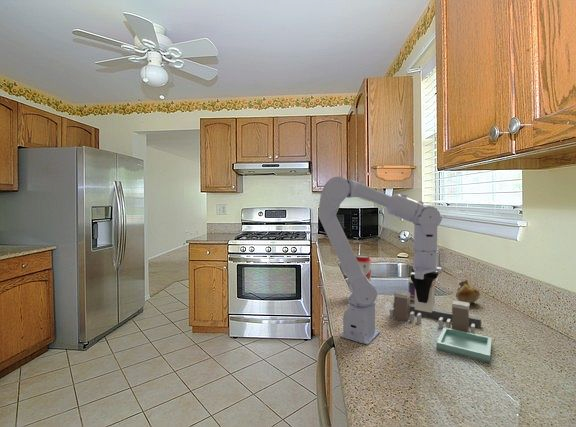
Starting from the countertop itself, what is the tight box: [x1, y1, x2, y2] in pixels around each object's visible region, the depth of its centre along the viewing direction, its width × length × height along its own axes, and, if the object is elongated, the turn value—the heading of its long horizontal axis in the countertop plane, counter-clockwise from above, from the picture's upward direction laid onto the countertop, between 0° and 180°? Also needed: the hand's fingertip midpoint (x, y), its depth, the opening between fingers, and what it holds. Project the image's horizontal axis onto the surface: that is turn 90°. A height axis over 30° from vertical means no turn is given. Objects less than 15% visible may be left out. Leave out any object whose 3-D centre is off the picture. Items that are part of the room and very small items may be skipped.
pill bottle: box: [407, 271, 415, 302], centre depth 112 cm, size 5×5×10 cm
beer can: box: [355, 254, 372, 284], centre depth 114 cm, size 6×6×16 cm
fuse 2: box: [451, 300, 471, 333], centre depth 85 cm, size 4×4×8 cm
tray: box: [435, 326, 493, 364], centre depth 76 cm, size 11×11×2 cm
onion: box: [455, 279, 481, 305], centre depth 108 cm, size 8×8×8 cm
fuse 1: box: [393, 290, 411, 323], centre depth 94 cm, size 4×4×8 cm
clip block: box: [389, 302, 482, 334], centre depth 92 cm, size 9×25×2 cm, turn 54°
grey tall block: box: [414, 279, 436, 313], centre depth 82 cm, size 4×4×8 cm
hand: (424, 299), depth 82 cm, fingers closed on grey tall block, 4 cm apart
